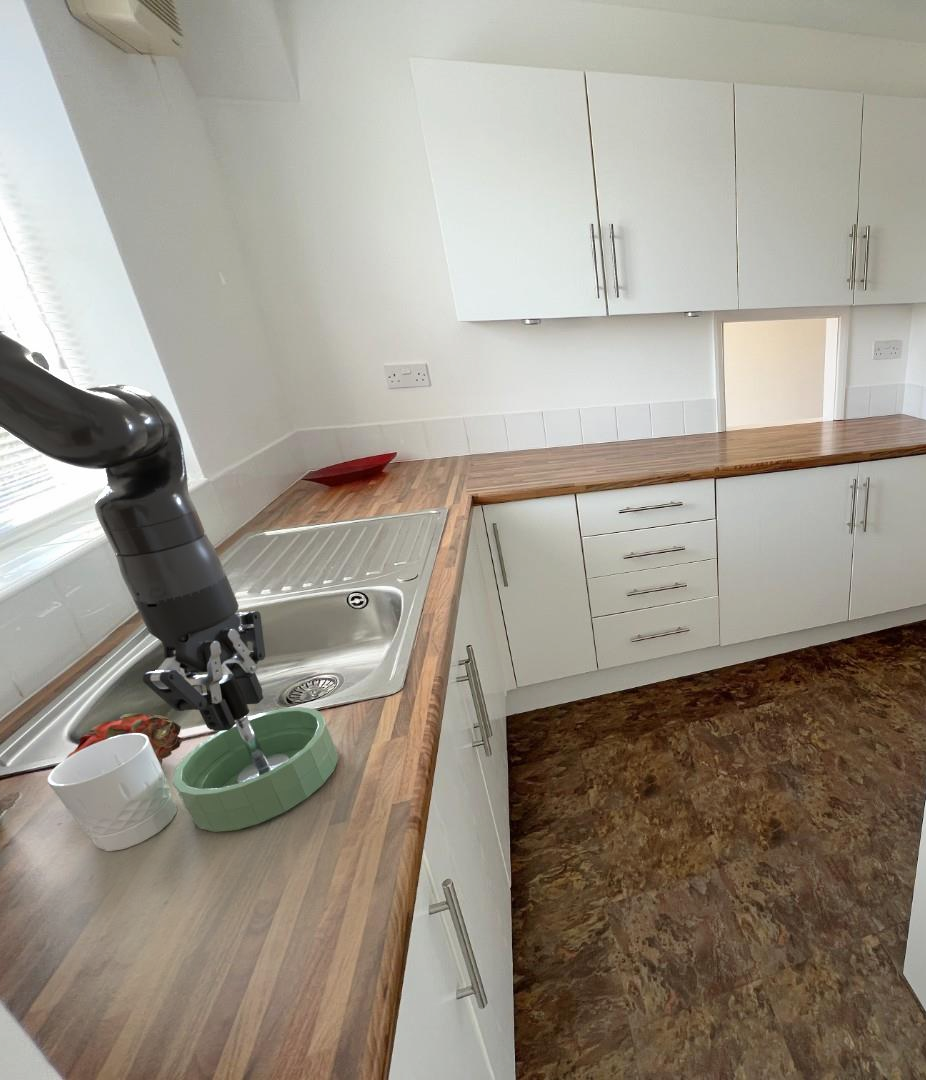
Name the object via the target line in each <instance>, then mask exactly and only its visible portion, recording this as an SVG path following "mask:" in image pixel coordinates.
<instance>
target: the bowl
mask: <svg viewBox="0 0 926 1080" xmlns="http://www.w3.org/2000/svg"><path fill="white" fill-rule="evenodd" d="M248 719H249V722H250V724H251V726H252V728H253V731H254V733H255V735H256V737H257V740H258V742H259V744H260V746H261V749H262V751H263V753H264V756H265V757H266V756H269V755H273V754H284V755H287V756H288V757H289V760H288V761H286V762H284V763H283V764H281V765H279V766H277V767H276V768H274V769H272V770H270V771H269V772H267V773H264V774H262V775H259V776H257V777H255V778H252V779H250V780H247V781H245V782H242V783H237V777H238V775H239V773H240V772H241V771H242V770H243V769H244V768H245V767H247V766H248V765H249V764H251V763H253V761H252V759H251V757H250V755H249V752H248V750H247V748H246V746H245V744H244V741H243V739H242V737H241V735H240V733H239V730H238V728H237V726H236V724H235V725H234V726H233V727H232V728H231V729H230V730H223V731H217V732H216V733H215V734H213V735H211V736H210V737H208V738H207V739H205V740H204V741H202V742H201V743H199V744H198V745H196V747H194V748H193V749H192V750H191V751H190V752H189V753H187V755H185V756H184V757H183V758H182V759H181V760H180V762H179V764H178V765H177V767H176V768H175V769H174V771H173V777H172V786H173V788H174V790H175V791H176V793H177V795H178V797H179V799H180V801H181V803H182V804H183V807H184V809H185V811H186V812H187V814H188V816H189V818H190V820H191V821H192V822H193V824H194V825H195V826H196V827H197V828H198V829H201V830H205V831H209V832H212V833H216V832H217V833H218V832H228V831H229V832H230V831H238V830H240V829H241V830H242V829H244V828H248V827H252V826H256V825H259V824H261V823H264V822H266V821H268V820H271V819H273V818H275V817H277V816H279V815H282V814H283V813H285V812H287V811H289V810H290V809H292V808H294V807H295V806H297V805H299V804H300V803H301V802H303V801H305V800H307V799H308V798H309V797H311V795H312V794H314V793H315V792H316V791H317V790H318V789H320V787H322V786H323V785H324V784H325V783H326V781H327V780H328V779H329V778H330V777H331V775H332V773H333V772H334V771H335V769H336V765H337V763H338V760H339V754H338V753H339V752H338V750H337V747H336V744H335V741H334V738H333V735H332V734H331V731H330V728H329V726H328V723H327V721H326V717H325V715H324V714H323V713H321V712H320V711H319V710H317V709H315V708H309V707H303V706H296V707H295V706H294V707H282V708H277V709H275V710H273V709H272V710H269V711H265V712H261V713H258V714H256V715H253V716H251V717H248Z"/></svg>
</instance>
